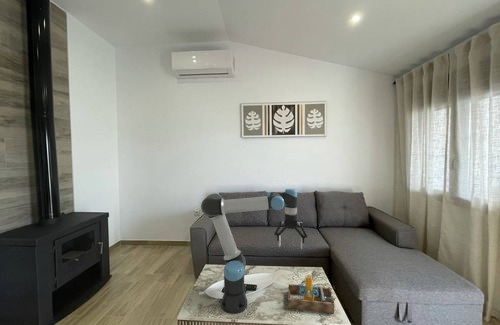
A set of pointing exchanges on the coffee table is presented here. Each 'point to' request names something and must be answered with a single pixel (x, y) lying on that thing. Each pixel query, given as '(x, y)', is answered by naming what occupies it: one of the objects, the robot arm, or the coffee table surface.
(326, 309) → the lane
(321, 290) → the pusher
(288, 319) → the coffee table surface
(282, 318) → the coffee table surface
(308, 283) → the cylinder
